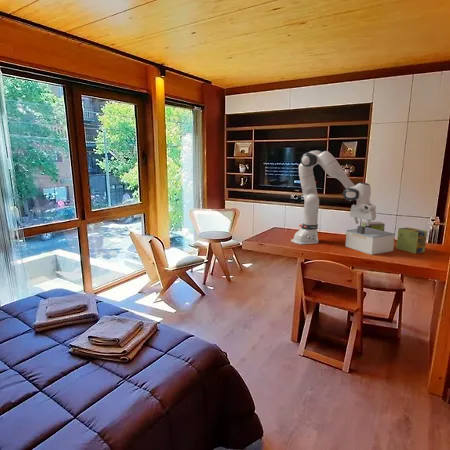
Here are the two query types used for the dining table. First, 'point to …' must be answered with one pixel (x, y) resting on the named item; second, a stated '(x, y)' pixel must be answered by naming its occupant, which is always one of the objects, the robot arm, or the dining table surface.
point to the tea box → (374, 225)
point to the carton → (369, 243)
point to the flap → (370, 232)
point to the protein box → (411, 240)
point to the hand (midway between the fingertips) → (361, 224)
